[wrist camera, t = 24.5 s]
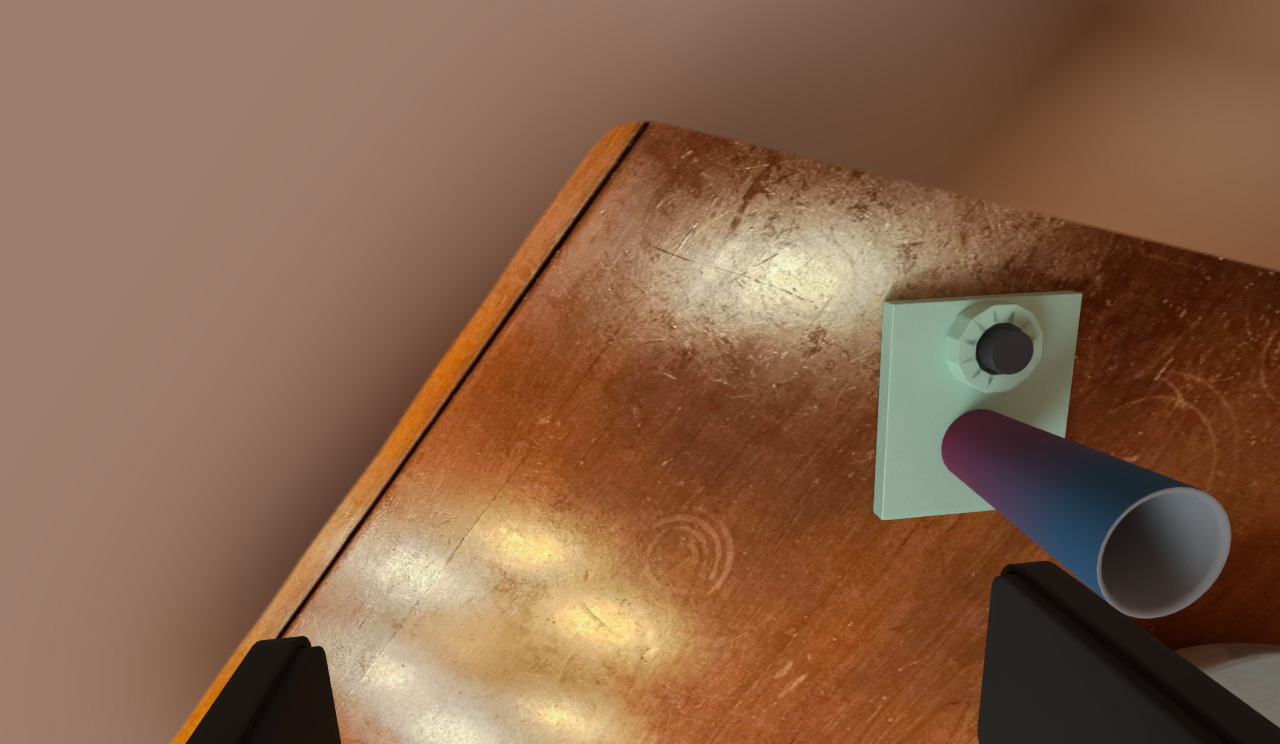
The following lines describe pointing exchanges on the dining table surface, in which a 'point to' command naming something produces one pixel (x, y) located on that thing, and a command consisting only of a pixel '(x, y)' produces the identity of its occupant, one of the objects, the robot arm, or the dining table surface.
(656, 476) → the dining table surface
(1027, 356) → the tare button
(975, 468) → the cup
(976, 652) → the dining table surface
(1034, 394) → the scale
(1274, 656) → the bowl
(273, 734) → the robot arm
